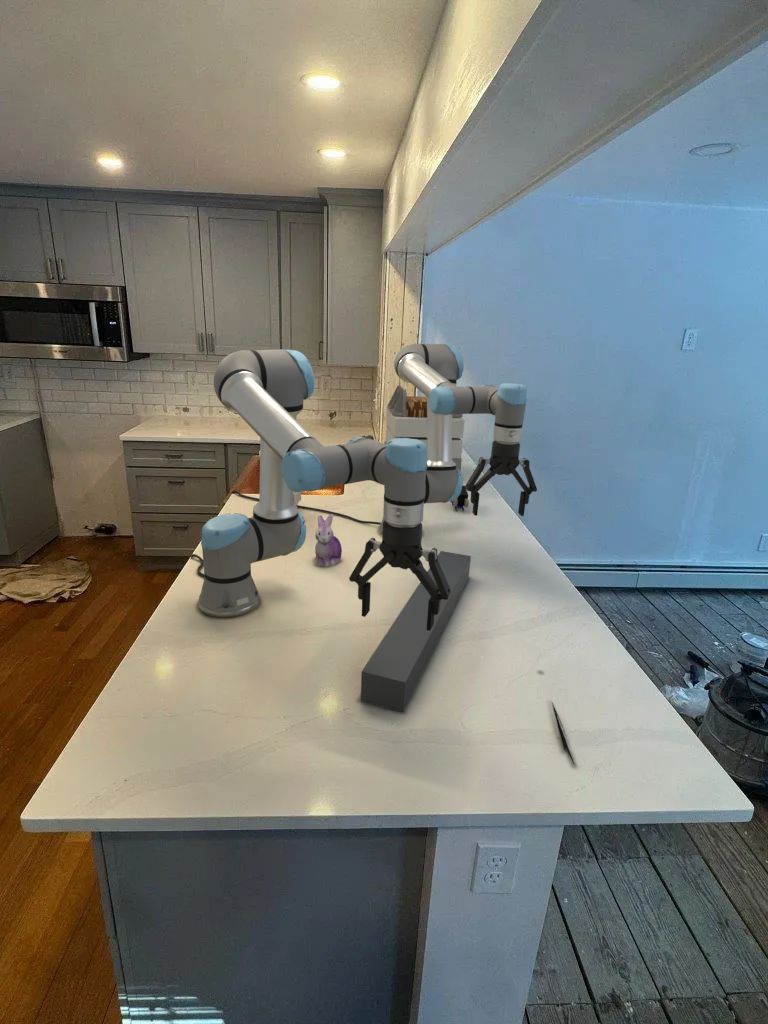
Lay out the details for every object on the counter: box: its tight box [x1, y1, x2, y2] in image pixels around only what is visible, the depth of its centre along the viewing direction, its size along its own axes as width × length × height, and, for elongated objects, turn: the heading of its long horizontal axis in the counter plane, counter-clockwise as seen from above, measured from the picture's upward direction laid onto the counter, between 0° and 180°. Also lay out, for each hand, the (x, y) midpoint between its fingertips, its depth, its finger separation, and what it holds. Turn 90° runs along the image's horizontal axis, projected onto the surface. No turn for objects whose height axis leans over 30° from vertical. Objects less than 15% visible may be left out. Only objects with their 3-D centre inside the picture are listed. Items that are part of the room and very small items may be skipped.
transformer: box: [383, 384, 465, 473], centre depth 268 cm, size 34×33×41 cm
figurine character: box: [450, 484, 470, 512], centre depth 229 cm, size 7×8×15 cm
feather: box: [540, 670, 575, 765], centre depth 113 cm, size 2×28×2 cm
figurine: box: [314, 513, 343, 567], centre depth 173 cm, size 9×10×15 cm
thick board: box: [360, 550, 472, 713], centre depth 141 cm, size 65×9×7 cm, turn 161°
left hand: (397, 620), depth 114 cm, fingers open, 13 cm apart
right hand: (497, 514), depth 162 cm, fingers open, 13 cm apart
